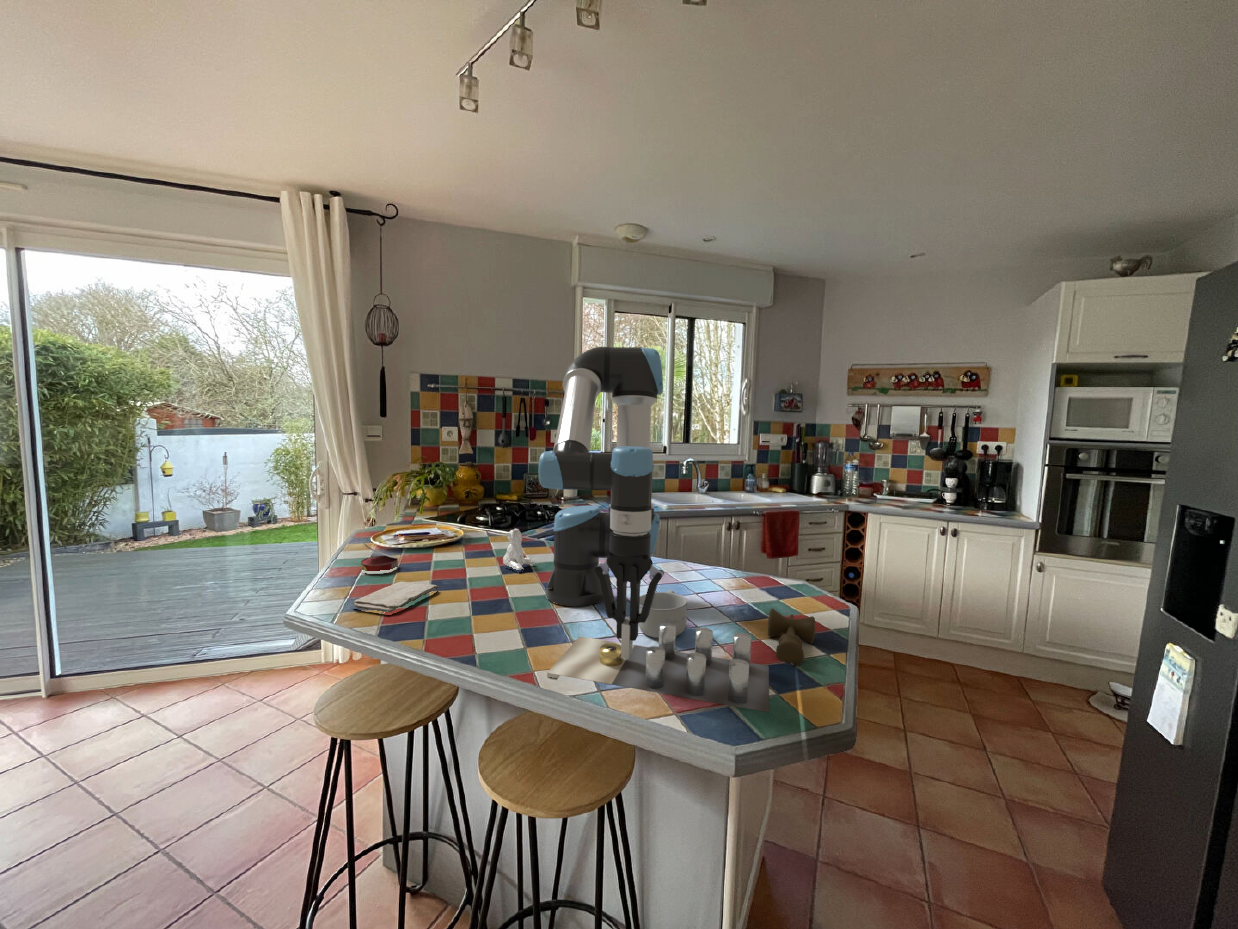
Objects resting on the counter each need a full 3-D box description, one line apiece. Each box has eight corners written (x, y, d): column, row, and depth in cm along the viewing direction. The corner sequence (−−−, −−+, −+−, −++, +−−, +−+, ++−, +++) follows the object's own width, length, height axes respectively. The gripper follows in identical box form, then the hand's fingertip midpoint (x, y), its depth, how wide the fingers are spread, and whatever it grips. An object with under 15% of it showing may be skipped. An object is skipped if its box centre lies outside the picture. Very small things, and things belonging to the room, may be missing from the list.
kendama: (762, 664, 99) (768, 623, 118) (815, 675, 96) (813, 631, 115) (764, 635, 98) (770, 598, 117) (818, 645, 95) (815, 606, 114)
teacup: (672, 650, 103) (673, 612, 102) (626, 637, 108) (627, 600, 108) (699, 627, 114) (700, 593, 114) (656, 616, 120) (657, 583, 119)
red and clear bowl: (367, 582, 153) (369, 549, 156) (402, 578, 154) (403, 546, 157) (352, 575, 142) (354, 540, 146) (389, 571, 143) (390, 537, 147)
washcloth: (349, 612, 119) (348, 599, 118) (400, 588, 136) (400, 577, 136) (392, 619, 116) (392, 606, 115) (439, 593, 133) (439, 582, 133)
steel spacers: (643, 687, 87) (644, 653, 86) (660, 651, 100) (661, 621, 100) (747, 705, 82) (748, 669, 82) (749, 665, 96) (751, 634, 95)
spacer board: (547, 677, 91) (547, 672, 91) (578, 640, 106) (579, 636, 106) (768, 717, 80) (768, 712, 80) (768, 669, 96) (768, 665, 96)
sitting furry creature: (519, 574, 149) (520, 533, 148) (494, 570, 153) (495, 530, 151) (536, 565, 158) (536, 527, 157) (512, 562, 161) (512, 524, 160)
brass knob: (597, 665, 94) (598, 652, 94) (601, 654, 98) (601, 642, 98) (621, 667, 94) (622, 654, 93) (624, 656, 98) (624, 643, 98)
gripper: (589, 532, 91) (587, 659, 93) (661, 539, 88) (656, 670, 90) (602, 524, 98) (599, 642, 100) (669, 530, 95) (664, 651, 97)
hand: (626, 655), depth 95 cm, fingers closed
